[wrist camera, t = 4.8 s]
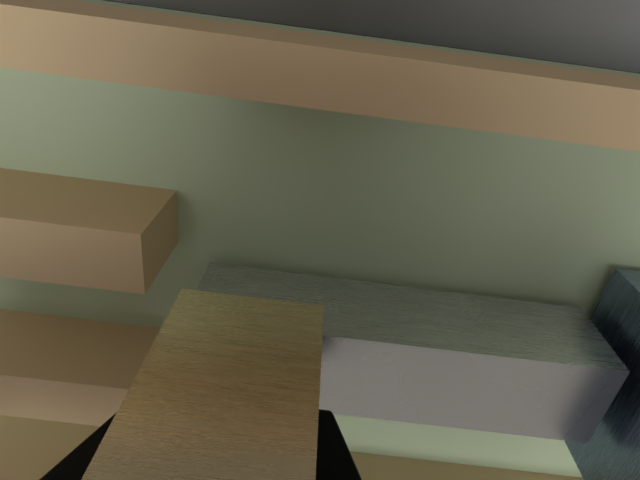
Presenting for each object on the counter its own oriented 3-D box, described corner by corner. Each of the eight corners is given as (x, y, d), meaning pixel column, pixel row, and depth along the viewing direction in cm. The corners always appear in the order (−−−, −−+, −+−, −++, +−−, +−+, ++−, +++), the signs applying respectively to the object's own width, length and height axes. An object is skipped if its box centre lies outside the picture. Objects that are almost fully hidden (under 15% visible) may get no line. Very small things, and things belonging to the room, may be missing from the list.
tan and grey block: (585, 410, 14) (849, 861, 7) (208, 366, 14) (62, 788, 7) (661, 273, 12) (1191, 741, 4) (210, 217, 12) (-17, 617, 4)
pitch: (713, 486, 18) (792, 591, 15) (1, 406, 17) (-73, 498, 14) (1021, 125, 11) (1283, 176, 8) (-127, -32, 10) (-324, -40, 7)
